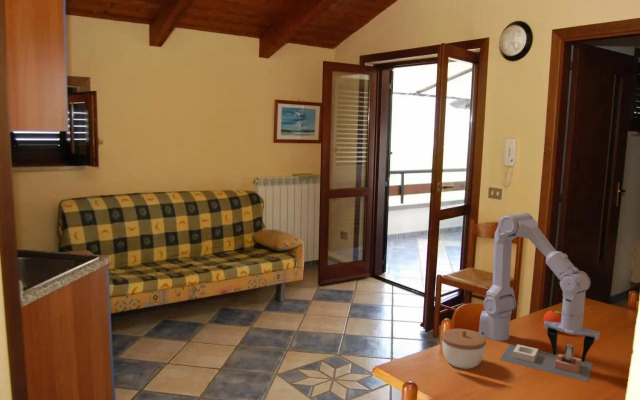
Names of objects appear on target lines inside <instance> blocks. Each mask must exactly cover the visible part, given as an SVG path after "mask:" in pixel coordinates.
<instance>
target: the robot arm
mask: <svg viewBox="0 0 640 400" xmlns="http://www.w3.org/2000/svg"><path fill="white" fill-rule="evenodd" d="M497 223H498V224H497V227H496V230H495V231H494V237H493V238H494V240H493V242H494V243H493V262H492V263H493V266H492V267H493V268H492V285H491V286H490V287H489V289H488V290H486V292H485V293H486V294H485V298H484V300H483V308H484V310H482V311H481V314H480V318H479V325H478V326H479V327H478V328H479V329H478V333H480V334H482V335H483V336H484V337H485V338H486V339H487V338H488V339H490V340H494V341H499V342H500V341H508V340H509V339H510V328H511V315H512V314H513V310H515V309H516V308H517V300H516V297H515V290H514V289H513V288H512V287H511V270H512V269H511V267H512V266H511V265H512V250H513V249H512V246H513V245H512V244H513V240H514V239H516V238H518V237H520V238H524V239H528V240H529V241H530V242H531V243H532V244H533V245H534V246H535V248H537V250H539V251H540V252H539V253H541V254H542V255H543V256H544V257H545V264H546V265H547V266H548V268H549V269H550V270H551V271H552V272H553V274H554V275H555V276H556V278H557V279H558V280H559V286H560V289H561V290H562V305H561V306H562V307H561V313H562V316H561V323H557V322H548V321H545V323H544V322H543V323H544V324H543V329H544V330H546V335H547V337H548V339H549V342H550V344H551V349H552V353H553V355H556V354H557V353H558V351H557V349H558V336H559V332H561V333H565V334H567V335H574V336H580V337H584V339H583V346H582V347H583V348H582V349H583V350H582V355H581V360H582V361H583V362H584V361H586V358H587V357H586V356H587V354H588V353H589V350H590V349H591V347H592V346H593V344H594V341H599V340H600V331H597V330H595V329H590V328H588V327H584V325H583V324H584V314H585V303H586V292H587V291H588V290H589V289H590V287H591V278H590V276H588V273H586V272H585V271H582V270H579V269H578V268H577V267H576V266H575V264H573V263H572V262H571V260H570V259H569V258H568V257H569V256H568V254H567V253H563V251H558V250H556V249H555V248H554V246H553V245H552V244H551V242H550V241H549V239H547V237H546V236H545V234H544V233H543V232H542V231H541V229H540V228H539V226H538V225H539V224H538V221H537V220H536V219H535V218H534V217H533V215H532V214H530V213H528V212H521V213H516V214H514V213H513V214H505V215H503V216H502V217H501V218H499V219H498V221H497Z"/></svg>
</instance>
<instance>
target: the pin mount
mask: <svg viewBox="0 0 640 400" xmlns="http://www.w3.org/2000/svg"><path fill="white" fill-rule="evenodd" d="M516 345H517V346H516V347H515V349H514V351H513V358H517V359H521V360H525V361H529V362H533V363H534V362H535V360H536V358H537V356H538V350H539V348H536V347H532V346H531V347H530V346H526V345H522V344H519V343H518V344H516Z"/></svg>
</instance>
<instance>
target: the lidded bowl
mask: <svg viewBox="0 0 640 400" xmlns="http://www.w3.org/2000/svg"><path fill="white" fill-rule="evenodd" d="M482 334H483V333H482ZM482 334H480V333H479V331H475V330H471V329H467V328H450V329H447V330H445V331H443V332H442V334H441V335H442V336H441V339H442V343H441V345H442V353H443V356H444V358H445V360H446V362H448V363H449V365H451V366H453V367H454V370H458V371H461V370H462V371H463V372H465V370H467V369H468V370H469V369H473V368H476V367H477V366H479V365H480V363H482V361H483V358H484V357H485V351H486V345H487V338H486V337H484V336H483V335H482ZM464 369H465V370H464Z"/></svg>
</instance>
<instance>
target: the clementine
mask: <svg viewBox="0 0 640 400" xmlns="http://www.w3.org/2000/svg"><path fill="white" fill-rule="evenodd" d="M561 316H562V311H559V310H554V309H551V310H548V311H546V312H545V313H544V314H543V318H542V319H543V320H542V321H543V323H545V321H548V322H557V323H561Z"/></svg>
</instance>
